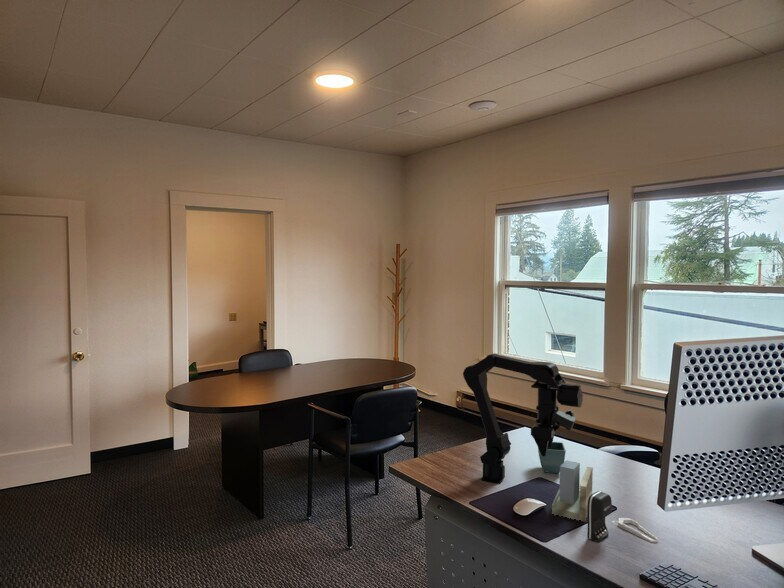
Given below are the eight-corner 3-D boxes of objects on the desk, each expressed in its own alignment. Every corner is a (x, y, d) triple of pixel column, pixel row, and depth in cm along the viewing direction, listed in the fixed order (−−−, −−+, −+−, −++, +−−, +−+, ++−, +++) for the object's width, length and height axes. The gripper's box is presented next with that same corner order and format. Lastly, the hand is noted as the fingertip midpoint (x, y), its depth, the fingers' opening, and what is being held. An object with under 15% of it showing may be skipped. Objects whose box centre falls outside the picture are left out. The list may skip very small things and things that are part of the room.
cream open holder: (551, 514, 145) (552, 480, 144) (561, 493, 159) (561, 462, 159) (585, 521, 140) (586, 486, 140) (592, 499, 155) (592, 467, 154)
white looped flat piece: (665, 543, 132) (666, 536, 131) (654, 548, 129) (654, 541, 129) (621, 519, 143) (622, 513, 143) (610, 523, 140) (610, 517, 140)
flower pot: (565, 476, 173) (566, 450, 172) (539, 474, 174) (539, 448, 174) (562, 466, 181) (562, 442, 181) (537, 464, 183) (537, 440, 183)
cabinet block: (556, 500, 150) (556, 465, 149) (562, 493, 154) (563, 459, 154) (573, 504, 147) (573, 469, 146) (579, 497, 151) (579, 463, 151)
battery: (600, 544, 128) (601, 501, 128) (586, 539, 131) (587, 496, 131) (613, 535, 133) (613, 493, 133) (599, 530, 136) (599, 488, 136)
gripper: (568, 413, 147) (568, 465, 147) (578, 399, 163) (577, 446, 164) (530, 408, 152) (530, 459, 153) (543, 395, 169) (542, 441, 169)
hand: (546, 451), depth 160 cm, fingers open, 9 cm apart
